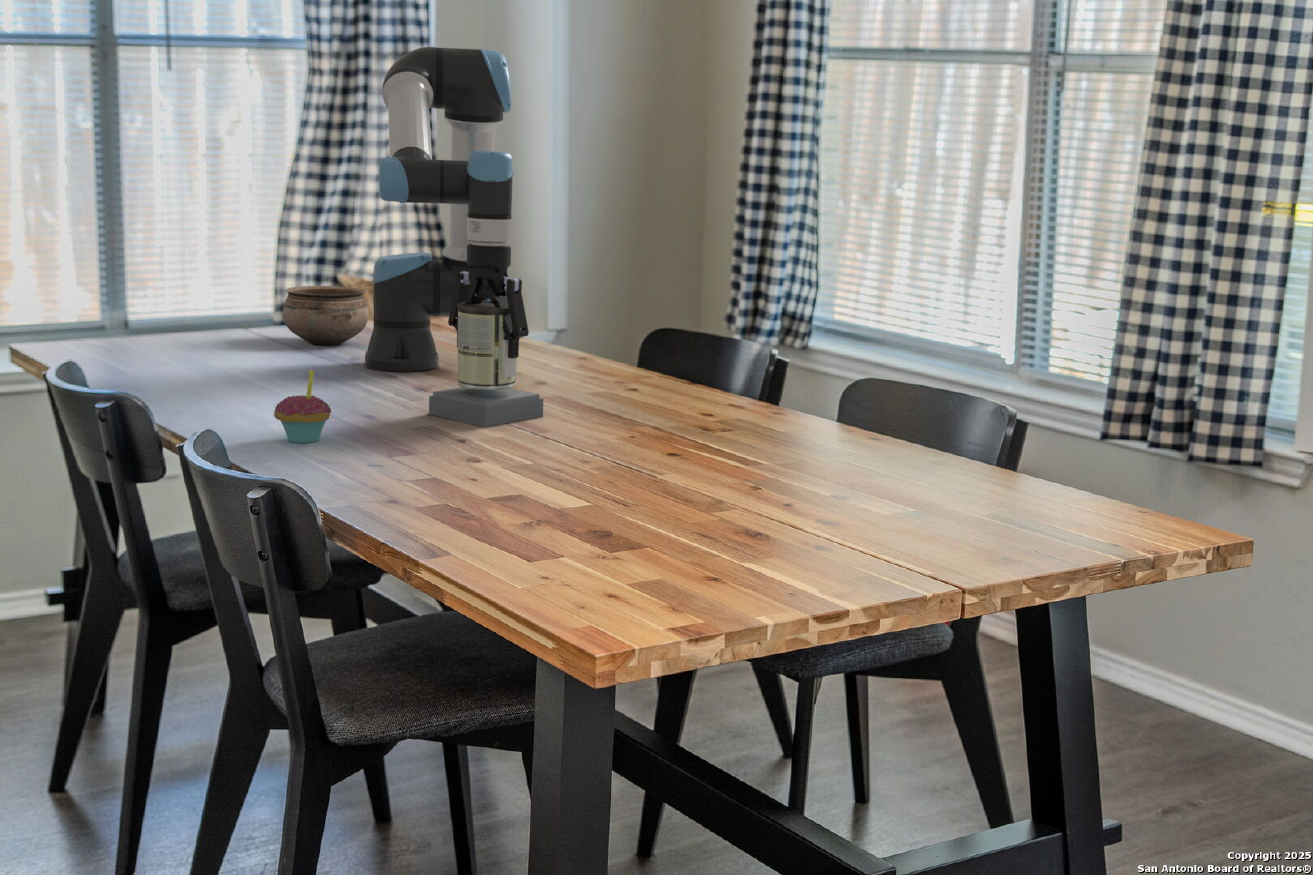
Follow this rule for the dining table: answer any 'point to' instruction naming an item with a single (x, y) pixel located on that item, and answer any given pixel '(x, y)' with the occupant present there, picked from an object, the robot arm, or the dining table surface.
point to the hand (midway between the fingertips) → (486, 372)
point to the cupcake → (303, 415)
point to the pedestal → (485, 406)
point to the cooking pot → (325, 313)
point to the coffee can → (481, 347)
